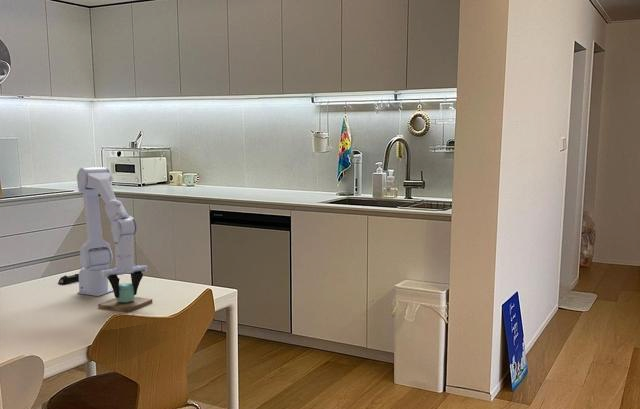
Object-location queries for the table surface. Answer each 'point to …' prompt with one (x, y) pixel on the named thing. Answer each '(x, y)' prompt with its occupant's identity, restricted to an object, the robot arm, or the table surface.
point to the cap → (126, 292)
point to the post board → (125, 304)
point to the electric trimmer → (68, 279)
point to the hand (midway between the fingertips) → (125, 295)
